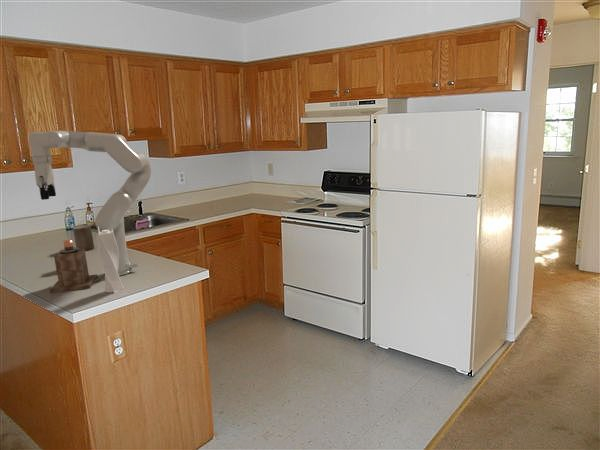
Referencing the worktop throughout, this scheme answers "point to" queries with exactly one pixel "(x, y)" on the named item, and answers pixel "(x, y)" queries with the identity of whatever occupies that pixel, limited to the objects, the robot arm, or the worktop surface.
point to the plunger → (68, 247)
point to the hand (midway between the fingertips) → (48, 197)
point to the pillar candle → (83, 237)
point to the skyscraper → (109, 260)
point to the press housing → (72, 271)
